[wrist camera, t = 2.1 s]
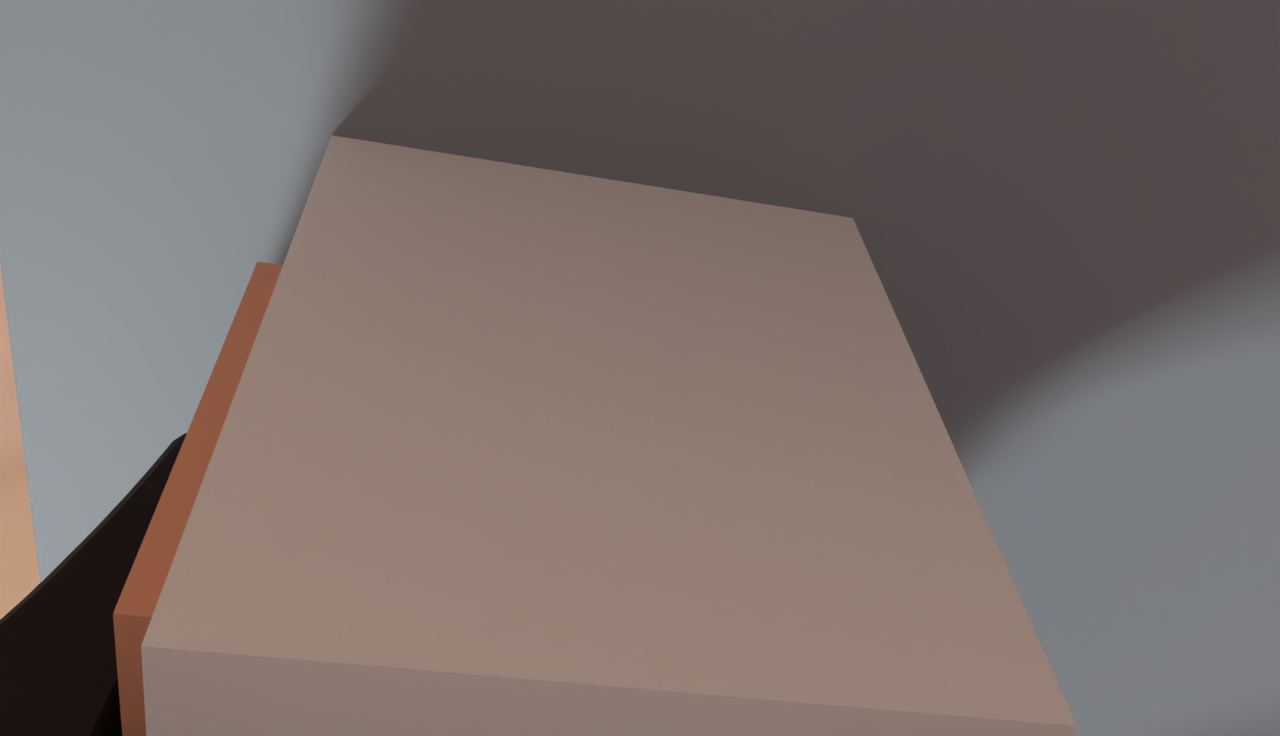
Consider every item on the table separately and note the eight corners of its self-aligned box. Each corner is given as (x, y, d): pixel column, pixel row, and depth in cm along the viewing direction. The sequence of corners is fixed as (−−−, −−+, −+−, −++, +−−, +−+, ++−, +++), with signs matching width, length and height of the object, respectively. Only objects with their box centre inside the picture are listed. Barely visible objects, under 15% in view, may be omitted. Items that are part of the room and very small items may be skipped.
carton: (852, 217, 11) (1076, 724, 7) (692, 684, 15) (756, 1220, 10) (285, 127, 10) (54, 638, 6) (268, 647, 14) (122, 1214, 10)
